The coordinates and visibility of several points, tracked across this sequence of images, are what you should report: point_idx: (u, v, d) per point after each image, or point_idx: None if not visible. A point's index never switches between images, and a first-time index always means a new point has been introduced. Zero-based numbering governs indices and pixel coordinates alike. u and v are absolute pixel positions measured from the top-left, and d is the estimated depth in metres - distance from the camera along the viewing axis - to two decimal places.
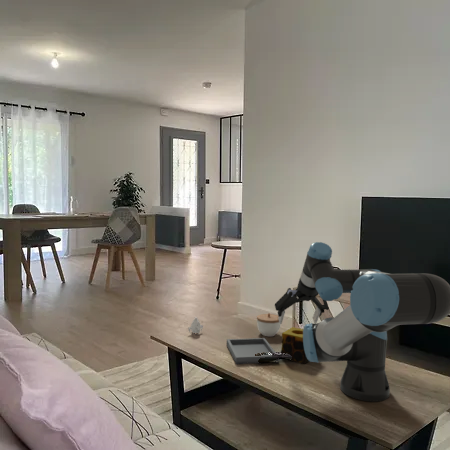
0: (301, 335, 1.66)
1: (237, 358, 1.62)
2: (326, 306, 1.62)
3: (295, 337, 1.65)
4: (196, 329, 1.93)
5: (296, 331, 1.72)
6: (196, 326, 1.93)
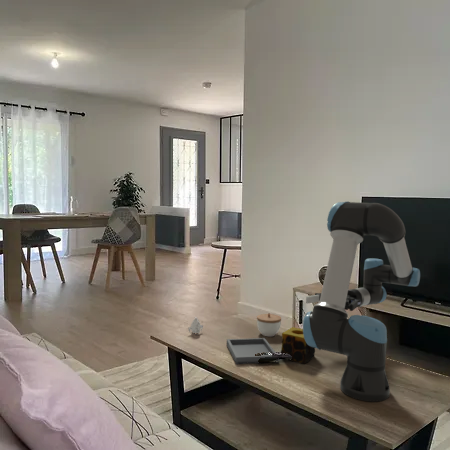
0: (301, 335, 1.66)
1: (237, 358, 1.62)
2: (352, 303, 1.71)
3: (295, 337, 1.65)
4: (196, 329, 1.93)
5: (296, 331, 1.72)
6: (196, 326, 1.93)
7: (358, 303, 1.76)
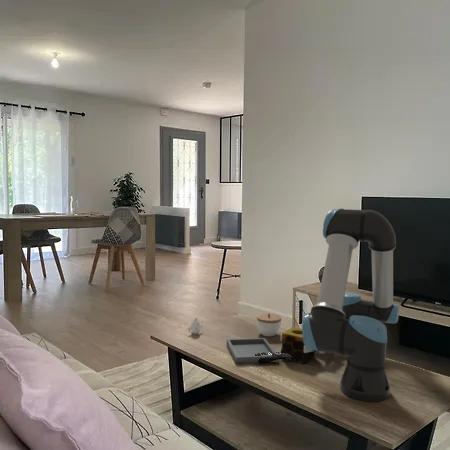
0: (301, 335, 1.66)
1: (237, 358, 1.62)
2: None
3: (295, 337, 1.65)
4: (196, 329, 1.93)
5: (296, 331, 1.72)
6: (196, 326, 1.93)
7: None
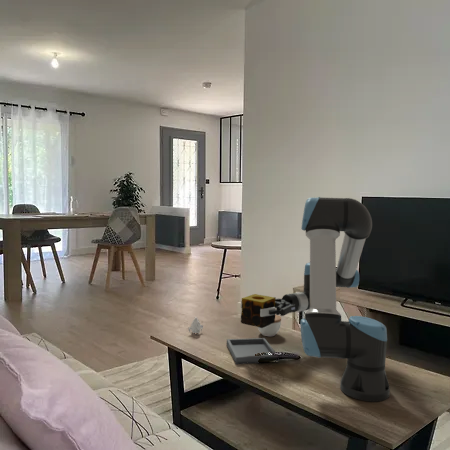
0: (259, 300, 1.69)
1: (237, 358, 1.62)
2: (283, 308, 1.68)
3: (253, 302, 1.68)
4: (196, 329, 1.93)
5: (257, 297, 1.75)
6: (196, 326, 1.93)
7: (292, 308, 1.72)
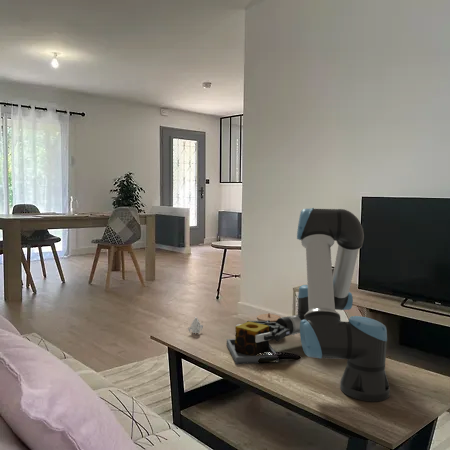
0: (253, 329, 1.69)
1: (237, 358, 1.62)
2: (278, 333, 1.68)
3: (247, 331, 1.68)
4: (196, 329, 1.93)
5: (251, 325, 1.75)
6: (196, 326, 1.93)
7: (287, 332, 1.73)
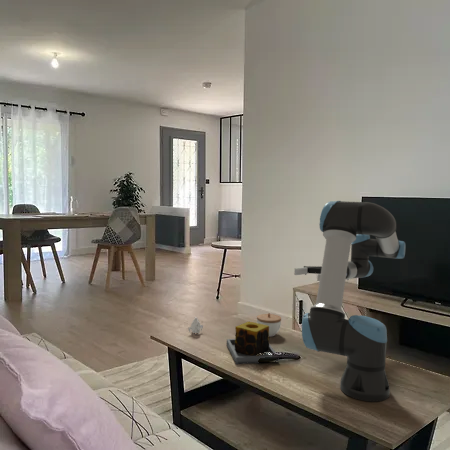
0: (253, 329, 1.69)
1: (237, 358, 1.62)
2: None
3: (247, 331, 1.68)
4: (196, 329, 1.93)
5: (251, 325, 1.75)
6: (196, 326, 1.93)
7: None
